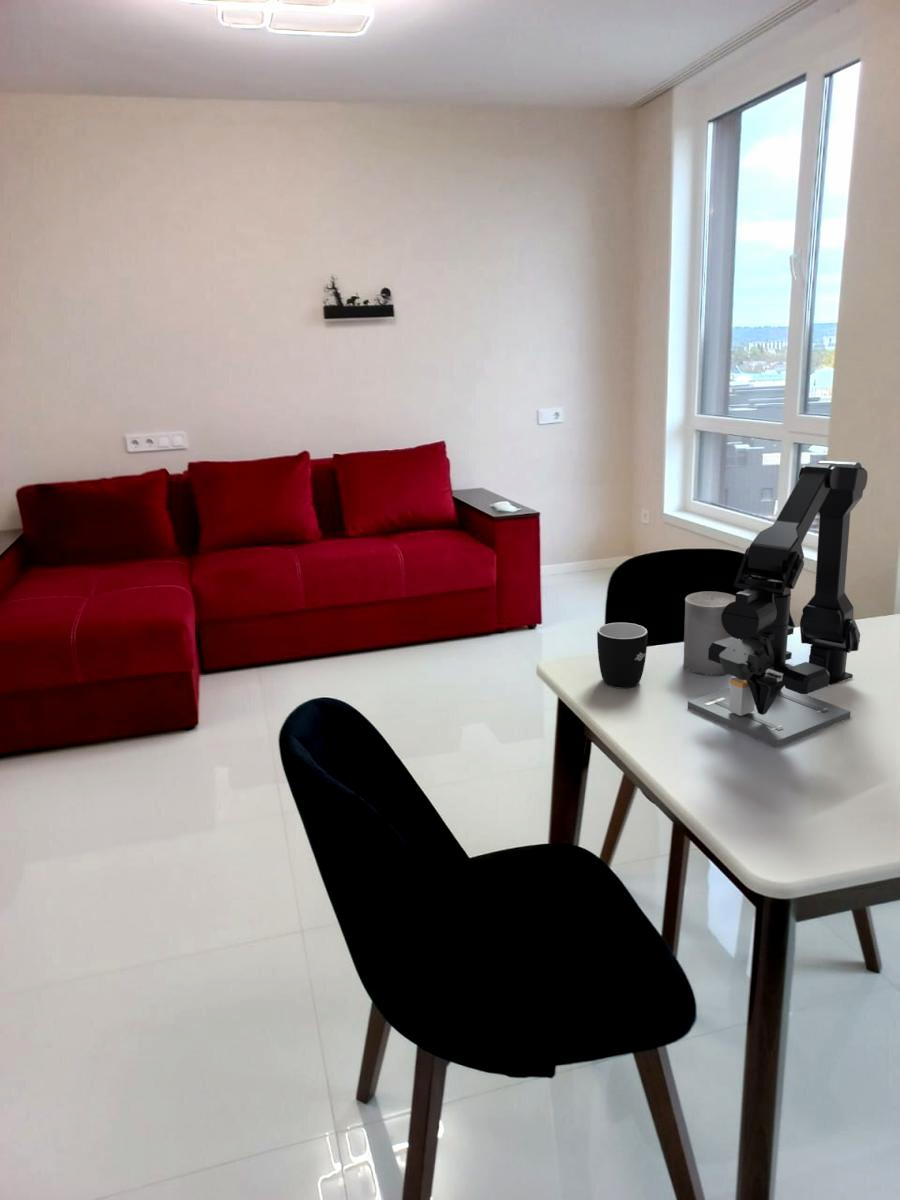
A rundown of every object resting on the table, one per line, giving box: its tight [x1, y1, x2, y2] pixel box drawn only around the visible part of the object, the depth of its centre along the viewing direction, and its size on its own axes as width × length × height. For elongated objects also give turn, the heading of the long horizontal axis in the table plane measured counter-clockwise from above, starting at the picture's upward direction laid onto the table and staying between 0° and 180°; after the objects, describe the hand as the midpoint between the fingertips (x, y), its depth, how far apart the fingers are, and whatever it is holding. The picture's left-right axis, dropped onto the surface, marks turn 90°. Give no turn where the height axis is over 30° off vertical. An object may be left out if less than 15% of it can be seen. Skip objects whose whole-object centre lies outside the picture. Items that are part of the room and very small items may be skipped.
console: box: [687, 686, 852, 749], centre depth 136 cm, size 18×18×1 cm
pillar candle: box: [683, 590, 736, 676], centre depth 154 cm, size 10×10×15 cm
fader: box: [729, 676, 755, 716], centre depth 133 cm, size 3×2×6 cm
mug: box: [596, 622, 648, 689], centre depth 151 cm, size 12×9×10 cm
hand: (762, 713), depth 130 cm, fingers closed
